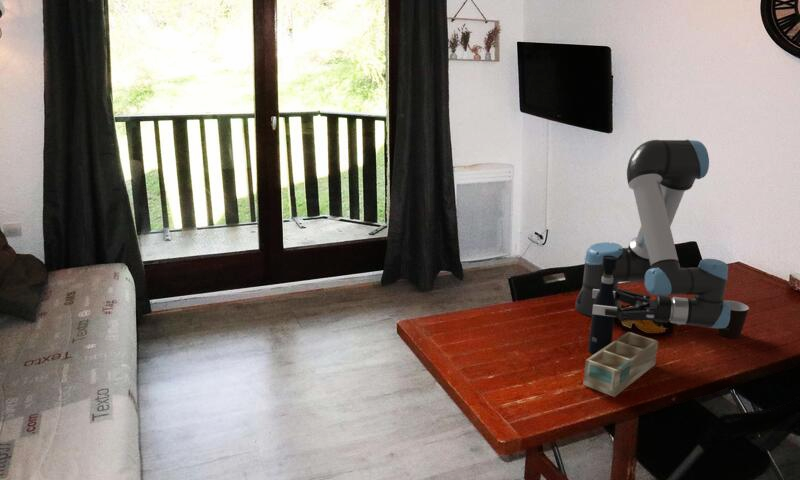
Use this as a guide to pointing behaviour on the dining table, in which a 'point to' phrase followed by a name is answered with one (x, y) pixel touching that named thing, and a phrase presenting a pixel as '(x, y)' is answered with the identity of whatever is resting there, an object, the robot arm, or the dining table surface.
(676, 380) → the dining table surface
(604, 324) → the black metal bottle
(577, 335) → the dining table surface
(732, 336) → the coffee mug
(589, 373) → the wooden compartment box
